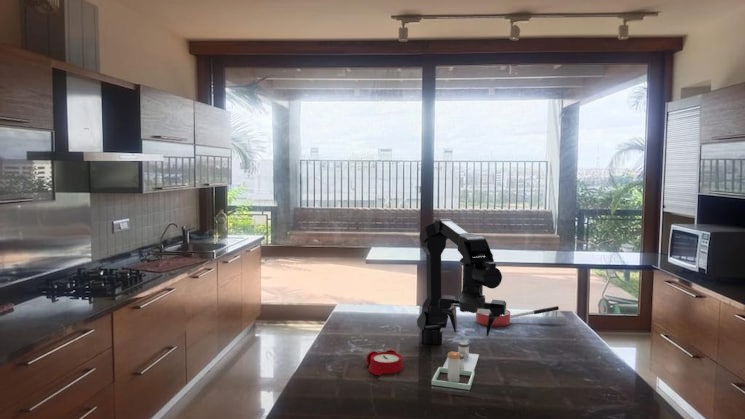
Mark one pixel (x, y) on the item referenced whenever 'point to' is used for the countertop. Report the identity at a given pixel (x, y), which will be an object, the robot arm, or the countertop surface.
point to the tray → (453, 384)
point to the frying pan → (505, 316)
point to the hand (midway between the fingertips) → (471, 333)
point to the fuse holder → (465, 357)
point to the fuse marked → (453, 366)
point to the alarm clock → (384, 362)
